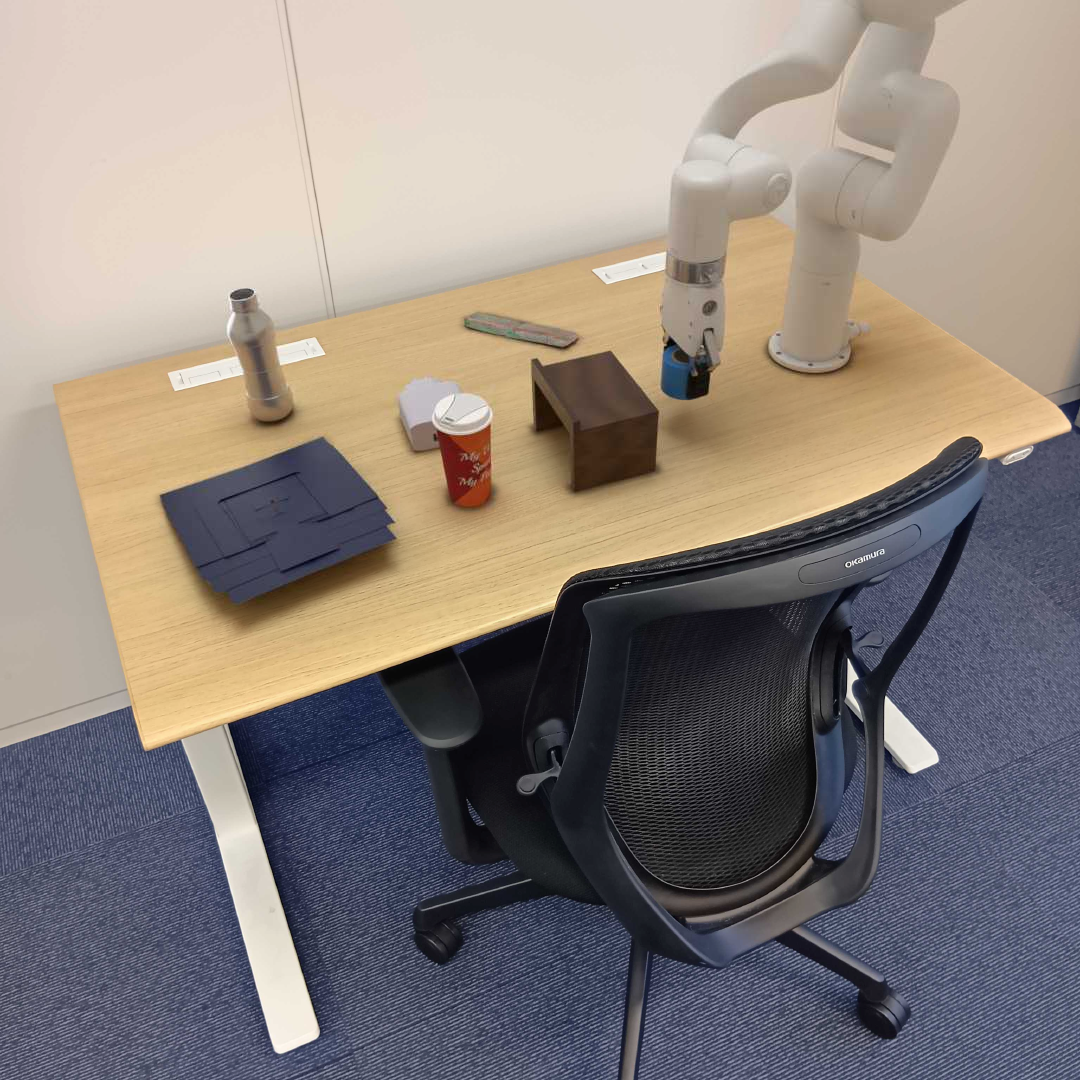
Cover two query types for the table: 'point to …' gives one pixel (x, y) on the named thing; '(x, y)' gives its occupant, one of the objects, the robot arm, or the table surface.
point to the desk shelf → (597, 417)
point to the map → (520, 329)
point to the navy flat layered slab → (277, 520)
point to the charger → (423, 409)
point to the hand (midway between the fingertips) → (684, 381)
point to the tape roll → (676, 372)
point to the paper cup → (465, 447)
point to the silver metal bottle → (258, 357)
